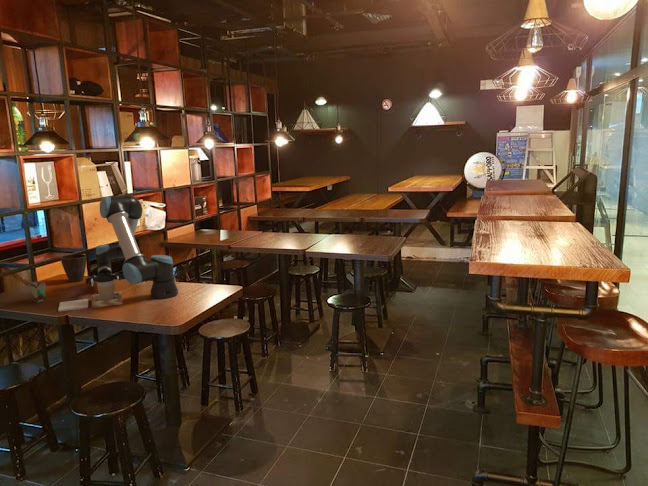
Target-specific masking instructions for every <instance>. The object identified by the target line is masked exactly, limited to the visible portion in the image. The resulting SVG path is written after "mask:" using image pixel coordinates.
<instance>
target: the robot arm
mask: <svg viewBox="0 0 648 486" xmlns="http://www.w3.org/2000/svg"><path fill="white" fill-rule="evenodd" d="M99 202H100V203H99V214H100V217H101V218H102V219H106V221H107V222H108V223H109V224H111V225H112V228H113V230H114V233H115V236H116V238H117V241H118V245H115V246H110V245H109V244H99V245H97V246H96V247H95V255H96V263H97V264H96V266H97V275H95V274H92V275H91V276H89V277H87V278H85V284H89V285H91V287H94V283H97V282H96V279H97V278H98V277H99V276H102V275H106V274H110V275H111V276H112V277H114V281H115V280H116V281H117V284H120V281H122V280H126V281H127V282H128V283H130V284H132V285H133V284H140V283H143V282H144V283H146V282H149V281H152V286H151V289H150V293H149V294H150V297H151V298H153V299H169V298H174V297H176V296H177V294H178V295H179V289H178V286H177V285H176V283H175V275H174V262H173V258H172V256H170V255H164V254H154V255H151V256H150V258H149V259H147V257H146V255H144V254H143V253H141V251H140V248H139V246H138V242H137V241H136V239H135V234H136V229H137V226H138V223H139V219H141V218H142V215H143V205H142V203H141V202H140V200H139V199H138V198H137V197H135V196H133V195H130V194H129V195H127V194H125V195H117V196H116V195H115V196H114V195H113V196H110V195H109V196H105V197H102V198H101V200H100V201H99ZM120 258H124V262H123V265H122V267H121V269H122V274H121V273H118V272H114V273H112V263H111V260H114V259H120ZM173 296H174V297H173Z"/></svg>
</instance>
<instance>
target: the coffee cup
mask: <svg viewBox="0 0 648 486" xmlns="http://www.w3.org/2000/svg"><path fill="white" fill-rule="evenodd" d="M95 283H96V287H97V292H98V294H99V296H100V300H99V301H102V300H110V299H115V298H114V292H115V279H114V277H112V276H111V275H110V274H106V275H102V276H99V277H98V278H97V279H96V282H95Z"/></svg>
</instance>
